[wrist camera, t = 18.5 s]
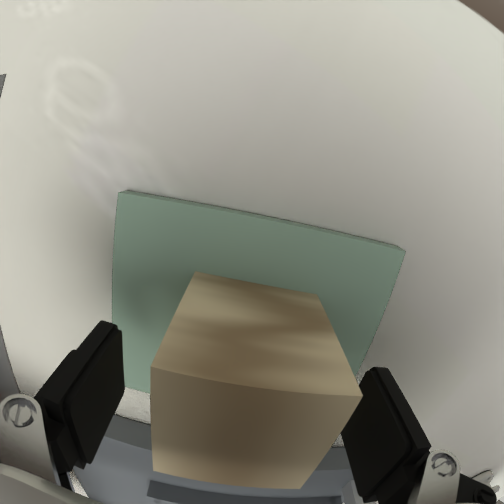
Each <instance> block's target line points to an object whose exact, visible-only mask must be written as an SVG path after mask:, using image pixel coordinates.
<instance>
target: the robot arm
mask: <svg viewBox="0 0 504 504" xmlns="http://www.w3.org/2000/svg"><path fill="white" fill-rule="evenodd" d="M359 388H360V390H361V393H362V395H363V397H362V398H361V400H360V402H359V404H358V405H357V407H356V409H355V410H354V412H353V414H352V415H351V417H350V419H349V420H348V422H347V423H346V425H345V427H344V428H343V430H342V431H341V436H342V439H343V442H344V446H345V449H346V453H347V456H348V460H349V464H350V467H351V471H352V474H353V478H354V482H355V485H356V489H357V493H358V495H359V496H360V497H362V499H363V503H370V502H376V501H378V503H379V504H504V503H503V502H502V501H500V500H498V501H497V502H496V500H497V498H496V494H495V493H496V492H498V491H499V488H500V487H499V486H498V485H496V486H494V487H493V488H492V487H491V485H490V482H491V480H492V479H493V477H494V475H493V473H492V472H491V471H487V472H484V473H482V474H480V475H478V476H476V477H474V478H469V477H467V476H465V475H463V474H461V473H460V463H459V461H458V459H457V458H456V457H455V456H454V455H453V454H452V453H451V452H448V451H446V450H442V449H441V450H435V451H433V452H431V453H430V452H429V449H430V448H431V444H430V443H429V441H428V439H427V437H426V435H425V433H424V431H423V429H422V427H421V426H420V424H419V422H418V420H417V418H416V416H415V415H414V413H413V411H412V409H411V407H410V406H409V404H408V402H407V400H406V399H405V397H404V395H403V393H402V391H401V390H400V388H399V386H398V385H397V383H396V381H395V379H394V378H393V376H392V374H391V373H390V371H389V369H388V368H382V367H372V368H371V369H370V371H367V372H366V373H365V375H364V377H363V379H362V381H361V382H360V384H359ZM124 390H125V382H124V366H123V342H122V331H121V330H119V329H118V326H117V325H116V324H113V323H109V322H106V321H103V320H102V321H100V322H99V323H98V324H97V325H96V327H95V328H94V329H93V330H92V331H91V333H90V334H89V335H88V336H87V337H86V339H85V340H84V341H83V342H82V343H81V345H80V346H79V347H78V348H77V350H72V351H71V352H70V353H69V354H68V355H67V356H66V357H65V359H64V360H63V361H62V362H61V364H60V365H59V366H58V367H57V369H56V370H55V371H54V372H53V374H52V375H51V376H50V377H49V379H48V380H47V381H46V383H45V384H44V385H43V387H42V388H41V389H40V390H39V392H38V393H37V394H36V396H35V397H34V398H32V397H30V396H28V395H25V394H14V395H10V396H8V397H6V398H5V399H4V400H3V401H2V402H1V404H0V504H104V503H101V502H98V501H95V500H93V499H90V498H87V497H85V496H82V495H80V494H77V493H75V491H74V488H73V485H72V482H71V478H70V475H69V472H70V471H72V469H73V467H74V466H76V467H78V468H80V469H83V470H84V468H85V466H86V463H88V464H91V463H92V462H93V460H94V457H95V455H96V453H97V450H98V448H99V446H100V444H101V441H102V439H103V437H104V435H105V433H106V430H107V428H108V426H109V424H110V422H111V420H112V417H113V415H114V413H115V411H116V409H117V407H118V405H119V403H120V400H121V398H122V396H123V394H124Z"/></svg>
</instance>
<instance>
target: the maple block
mask: <svg viewBox="0 0 504 504" xmlns="http://www.w3.org/2000/svg"><path fill="white" fill-rule="evenodd" d="M362 397H363V395H362V393H361V390H360V388H359V386H358V383H357V381H356V379H355V376H354V374H353V372H352V370H351V367H350V365H349V363H348V360H347V358H346V356H345V354H344V352H343V349H342V347H341V345H340V343H339V340H338V338H337V336H336V334H335V332H334V329H333V327H332V325H331V323H330V321H329V319H328V317H327V314H326V312H325V310H324V308H323V306H322V304H321V302H320V299H319V297H318V295H317V294H312V293H306V292H301V291H295V290H290V289H284V288H279V287H273V286H268V285H263V284H257V283H252V282H247V281H242V280H237V279H232V278H227V277H222V276H217V275H212V274H207V273H202V272H197V271H195V273H194V275H193V277H192V279H191V281H190V283H189V285H188V287H187V289H186V291H185V293H184V295H183V297H182V299H181V301H180V304H179V306H178V308H177V310H176V312H175V314H174V316H173V318H172V320H171V323H170V325H169V327H168V329H167V331H166V333H165V336H164V338H163V340H162V342H161V344H160V346H159V349H158V351H157V353H156V355H155V358H154V360H153V362H152V364H151V369H150V413H151V442H152V460H153V471H156V472H160V473H165V474H169V475H173V476H178V477H183V478H188V479H193V480H199V481H205V482H211V483H218V484H225V485H234V486H244V487H256V488H274V489H300V488H301V487H302V486H303V484H304V483H305V482H306V481H307V479H308V478H309V477H310V475H311V474H312V473H313V472H314V470H315V469H316V467H317V466H318V465H319V463H320V462H321V461H322V459H323V458H324V456H325V455H326V454H327V452H328V451H329V449H330V448H331V446H332V445H333V443H334V442H335V440H336V439H337V437H338V436H339V434H340V433H341V431H342V430H343V428H344V427H345V425H346V423H347V422H348V420H349V419H350V417H351V415H352V414H353V412H354V410H355V409H356V407H357V405H358V404H359V402H360V400H361V398H362Z"/></svg>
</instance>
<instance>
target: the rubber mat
mask: <svg viewBox="0 0 504 504" xmlns="http://www.w3.org/2000/svg"><path fill="white" fill-rule="evenodd" d="M405 252H406V251H404V250H403V249H401V248H400V247H398V246H395V245H391V244H387V243H383V242H379V241H375V240H370V239H366V238H362V237H358V236H354V235H349V234H345V233H341V232H337V231H332V230H328V229H323V228H319V227H315V226H310V225H306V224H301V223H296V222H292V221H287V220H282V219H278V218H273V217H268V216H263V215H258V214H253V213H248V212H243V211H238V210H233V209H228V208H223V207H218V206H212V205H207V204H202V203H196V202H191V201H185V200H180V199H174V198H168V197H162V196H156V195H151V194H145V193H138V192H132V191H123V192H119V193H118V200H117V209H116V220H115V232H114V247H113V268H112V323H113V324H116V325H117V326H118V329H119V330H121V331H122V342H123V366H124V382H125V387H128V388H131V389H135V390H138V391H142V392H146V393H149V394H150V369H151V364H152V362H153V360H154V358H155V355H156V353H157V351H158V349H159V346H160V344H161V342H162V340H163V338H164V336H165V333H166V331H167V329H168V327H169V325H170V323H171V320H172V318H173V316H174V314H175V312H176V310H177V308H178V306H179V304H180V301H181V299H182V297H183V295H184V293H185V291H186V289H187V287H188V285H189V283H190V281H191V279H192V277H193V275H194V273H195V271H197V272H202V273H207V274H212V275H217V276H222V277H227V278H232V279H237V280H242V281H247V282H252V283H257V284H263V285H268V286H273V287H279V288H284V289H290V290H295V291H301V292H306V293H312V294H317V295H318V297H319V299H320V302H321V304H322V306H323V308H324V310H325V312H326V314H327V317H328V319H329V321H330V323H331V325H332V327H333V329H334V332H335V334H336V336H337V338H338V340H339V343H340V345H341V347H342V349H343V352H344V354H345V356H346V358H347V360H348V363H349V365H350V367H351V370H352V372H353V374H354V376H356V374H357V372H358V370H359V368H360V366H361V364H362V362H363V360H364V357H365V355H366V353H367V351H368V349H369V347H370V344H371V342H372V340H373V338H374V335H375V333H376V331H377V328H378V326H379V323H380V321H381V319H382V316H383V314H384V311H385V309H386V306H387V303H388V301H389V298H390V296H391V293H392V290H393V287H394V285H395V282H396V279H397V276H398V273H399V270H400V267H401V264H402V261H403V258H404V255H405Z"/></svg>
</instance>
